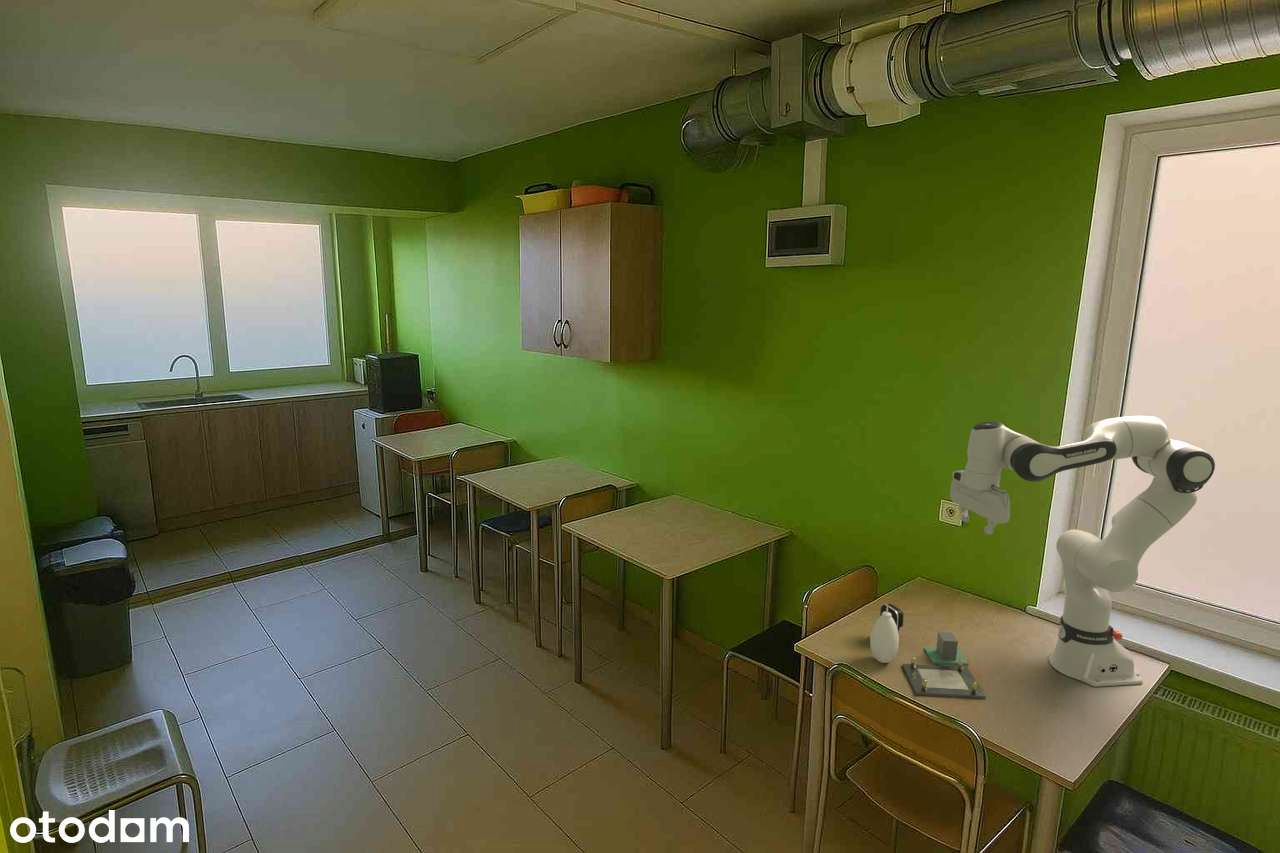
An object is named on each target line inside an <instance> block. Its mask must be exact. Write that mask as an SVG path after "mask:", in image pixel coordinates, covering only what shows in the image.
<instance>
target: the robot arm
mask: <svg viewBox="0 0 1280 853" xmlns="http://www.w3.org/2000/svg"><path fill="white" fill-rule="evenodd" d="M968 439H969V440H968V443H967V452H966V454H967V462H966V465H965V468H964V470H963V469H962V470H955V471H952V474H951V478H952V480H951V484H950V491H949V497H950V500H951V501H952V502H953V503H954V504H957V505H959V506H958V509H959V514H960V515H961V516H960V521H962V522H964V523H969V522H970V521H971V520H970V519H971V516H970V515H969V512H968V510H969V511H970V512H973V513H975V514H977V515H979V516H980V517H983V518H985V519H987V521H986V522H987V526H984V527H983V533H984V534H986V535H988V536H989V535H992V534H994V528H995V527H996V526H997V525H999V524H1006V523H1008V522H1009V521H1010V518H1011V499H1010V496H1009V494H1008V493H1007V491H1006V489H1005V488H1001V487H1000V482H1001V476H1002V475H1001V474H1002V470H1003V469H1004V468H1005V469H1010V470H1011V471H1013V472H1014V473H1016V475H1018V476H1019V478H1020V479H1022V480H1025V481H1026V482H1027V481H1028V482H1032V483H1033V482H1034V483H1035V482H1041V481H1044V480H1046V479H1049V478H1051V477H1052V476H1054V475H1056V474H1058V473H1061V472H1063V471H1069V470H1073V469H1077V468H1083V467H1087V466H1091V465H1092V466H1093V465H1097V464H1100V463H1105V462H1107V461H1115V460H1120V459H1127V458H1131V460H1132V462H1133V464H1134V465H1135V467H1137V469H1139V470H1140V471H1142V472H1143V473H1145V474H1148V475H1150V476H1152V477H1153V478H1152V481H1151V483H1150V485H1149V486H1148V487H1147V488H1146V489H1145V490H1144V491H1142V492H1141V493H1139V494H1138V495H1137V496H1136V497H1134V498H1133V499H1131V501H1129V502H1128V503H1126V505H1124V506H1123V507H1121V509H1119V510H1118V511H1117V512H1116V513H1114V515H1112V517H1111V525H1112V527H1111V528H1110V531H1109V533H1108V534H1107V535H1106V537H1104V539H1101V538H1100V537H1098V536H1096V535H1095V534H1094V533H1091V532H1087V531H1085V530H1080V529H1069V530H1066V531H1065V532H1063V533H1062V534H1061V535H1060V536H1059V537H1058V539H1057V542H1056V545H1055V546H1056V552H1057V554H1058V556H1059V558H1060V561H1061V565H1062V567H1061V568H1062V571H1063V572H1062V573H1063V580H1064V588H1065V589H1064V590H1065V591H1064V592H1065V593H1064V602H1063V603H1064V604H1063V612H1062V615H1061V617H1060V620H1059V625H1058V634H1057V635H1058V638H1057V642H1056V644H1055V647H1054V649H1053V652H1052V653H1051V655H1050V657H1049V660H1048V661H1049V663H1050V665H1051V666H1052V667H1053V668H1054V669H1055V670H1057V671H1058V672H1060V673H1061V674H1063V675H1065V676H1067V677H1069V678H1072V679H1075V680H1078V681H1082V682H1083V683H1084V684H1087V685H1089V686H1092V687H1095V688H1096V687H1097V688H1098V687H1108V686H1109V687H1111V686H1112V687H1113V686H1128V685H1142V684H1143V683H1144V682H1143V680H1144V679H1143V676H1142V673H1141V672H1140V671H1139V670H1138V669H1137V668H1136V667H1135V663H1134V659H1133V656H1132V655H1131V653H1130V652H1129V651H1128V650H1127V649H1126V648H1125V647H1124V646H1123V645H1122V644H1121V643H1120V642H1119V641H1120V640H1122V639H1123V637H1124V636H1123V634H1122V633H1121V632H1120V631H1119V630H1116V629H1114V627H1112V625H1110V620H1111V612H1112V609H1113V601H1112V598H1111V596H1110V594H1109V592H1112V593H1123V592H1126V591H1128V590H1130V589H1132V587H1134V585H1135V584H1136V583H1137V581H1138V578H1139V563H1140V561H1141V559H1142V557H1143V556H1144V555H1145V553H1146V551H1147V550H1148V549H1149V548H1150V547H1151V546H1152V545H1153V544H1154V543H1155V542H1156V541H1158V540H1159V539H1160V538H1161V537H1163V535H1165V534H1166V533H1167V532H1169V531H1170V530H1171V529H1172V528H1173V527H1175V526H1177V524H1178V523H1179V522H1181V521H1182V520H1183V519H1184V518H1185V516H1187V515H1188V513H1189V512H1190V511H1191V510H1192V509H1193V507H1194V506H1195V505H1196V503H1197V501H1198V496H1197V494H1196V492H1197V491H1200V490H1201V489H1203V487H1204V485H1205V484H1206V483H1208V481H1209V480H1210V479H1211V478H1212V476H1213V474H1214V472H1215V469H1216V468H1215V467H1216V464H1215V463H1216V461H1215V459H1214V457H1213V456H1212V455H1211V454H1210V453H1209V452H1207V451H1206V450H1204V449H1203V448H1200V447H1199V446H1195V445H1193V444H1189V443H1187V442H1185V441H1181V440H1176V439H1172V438H1169V430H1168V428H1167V425H1166V423H1165V422H1164V421H1163V420H1161V419H1160V418H1158V417H1156V416H1152V415H1131V416H1130V415H1129V416H1127V415H1126V416H1120V417H1118V416H1117V417H1111V418H1106V419H1101V420H1098V421H1095V422H1092V423H1091V424H1089V425H1088V426H1087V427H1086V429H1085V431H1084V432H1083V440H1082V441H1078V442H1074V443H1069V444H1063V445H1058V446H1050V445H1047V444H1045V443H1044V444H1043V443H1040V442H1038V441H1036V440H1034V439H1033V438H1031V437H1029V436H1028V435H1025V434H1021V433H1019V432H1016V431H1014V430H1012V429H1010V428H1008V427H1007V426H1005V425H1004V423H1002V422H999V421H983V422H979V423H977V424H975V425H974V426H973V427H972V429H971V430H970V434H969V438H968Z"/></svg>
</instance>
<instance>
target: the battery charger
mask: <svg viewBox="0 0 1280 853" xmlns="http://www.w3.org/2000/svg"><path fill="white" fill-rule="evenodd" d="M887 605H888V612H889V613H891V615H892V616H891V617H892V618H893V619H894V621H895V624H896V626H897V630H898V633H900V632H899V631H900V629H901V628H902V627H904V612H903V611H902V609H900V608H899V607H897V606H896V605H894V604H892V603H887V604H886V603H884V604H883V605H881V608H880V613H879V614H880V615H879V617H880V616H881V615H882V613H883V612H886V609H887Z"/></svg>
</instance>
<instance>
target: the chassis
mask: <svg viewBox="0 0 1280 853" xmlns="http://www.w3.org/2000/svg"><path fill="white" fill-rule="evenodd" d="M916 663H917V657H916V656H914V655H913V656H911V659H910V663H902V665H901V667H902V669H903V670H904V673H905V675H906V677H907V679H908V681H909V683H910V685H911V688H912V690H913V692H914V695H915V696H927V697H928V696H930V697H943V698H944V697H946V698H947V697H948V698H961V699H962V698H963V699H976V700H977V699H978V700H979V699H981V700H982V699H983V700H985V699H987V698H986V697H987V696H986V694H985V693H984V691H983V690H982V687H981V686H980V685H979V682H978V681H977V680H976V679H975V677H974V676H973V674H972V672H971V670H970V669H969V667H968V666H963V659H959V662H958V665H941V664H919V663H918V664H916Z"/></svg>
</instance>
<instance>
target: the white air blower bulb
mask: <svg viewBox="0 0 1280 853" xmlns="http://www.w3.org/2000/svg"><path fill="white" fill-rule="evenodd" d="M891 616H892V615H891V613H889V612H888V605H887V609H886V612H883V613H882V615H881V616H880V615H879V617H878V618H877V620H876V621H875V622H874V625H873V627H872V629H871V633H870V641H869V645H870V651H871V653H872V656H873V657H874V659H876V660H877V661H878V662H879V663H882V664H887V663H889V662H892V661H893V659H894V658H895V657H896V656H897V653H898V650H899V646H900V645H899V644H900V637H899V636H900V635H899V632H898V630H897V626H896V624H895V621H894V619H893V618H892V617H891Z"/></svg>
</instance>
